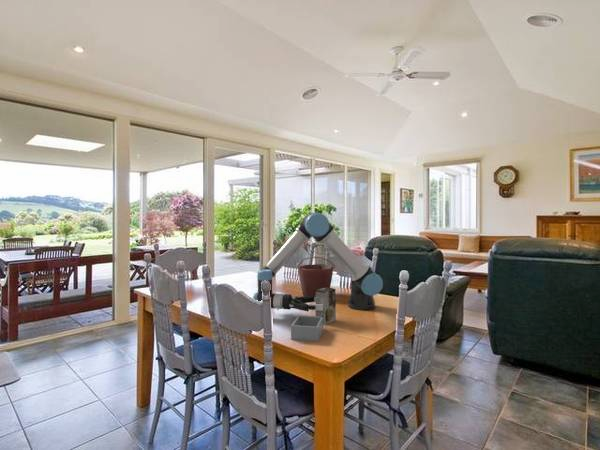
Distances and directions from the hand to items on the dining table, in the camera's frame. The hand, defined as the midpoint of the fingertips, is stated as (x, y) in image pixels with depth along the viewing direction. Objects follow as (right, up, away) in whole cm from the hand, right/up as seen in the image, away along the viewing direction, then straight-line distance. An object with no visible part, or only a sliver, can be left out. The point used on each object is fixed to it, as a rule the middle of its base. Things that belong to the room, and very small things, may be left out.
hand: (324, 303), depth 174 cm
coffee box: (0, -9, +1) cm, 9 cm away
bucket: (-2, -7, +54) cm, 55 cm away
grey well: (-9, -10, -18) cm, 22 cm away
